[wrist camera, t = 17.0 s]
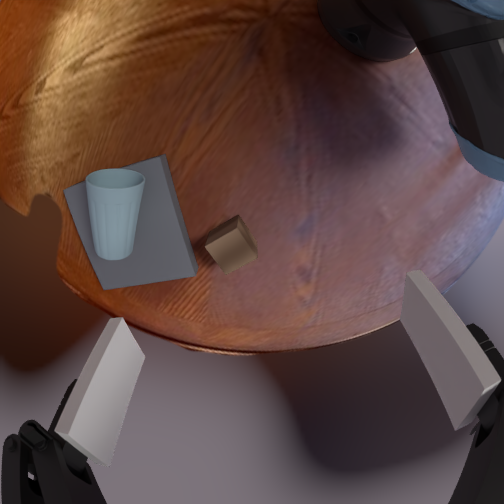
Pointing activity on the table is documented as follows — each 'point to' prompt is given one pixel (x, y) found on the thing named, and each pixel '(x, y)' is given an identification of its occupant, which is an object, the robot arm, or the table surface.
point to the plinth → (142, 232)
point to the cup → (114, 210)
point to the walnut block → (232, 245)
